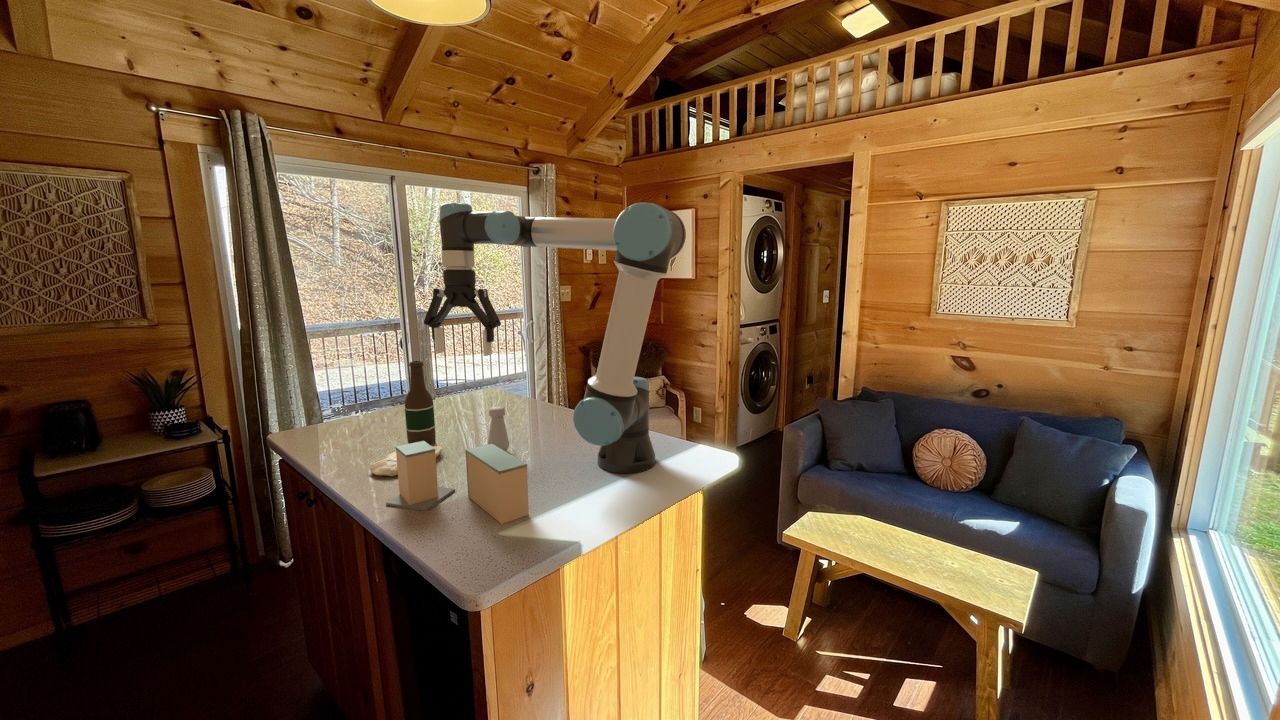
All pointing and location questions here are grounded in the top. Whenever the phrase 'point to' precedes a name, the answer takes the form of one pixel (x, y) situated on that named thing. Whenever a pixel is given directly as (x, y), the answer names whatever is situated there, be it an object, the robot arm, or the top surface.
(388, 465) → the cream lumpy flat piece
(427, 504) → the coaster
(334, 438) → the top surface
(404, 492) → the stub
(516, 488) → the tan wooden box
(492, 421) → the salt shaker
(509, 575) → the top surface
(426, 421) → the beer bottle
